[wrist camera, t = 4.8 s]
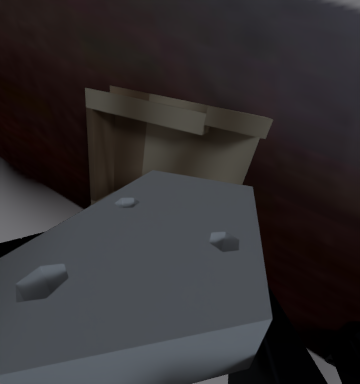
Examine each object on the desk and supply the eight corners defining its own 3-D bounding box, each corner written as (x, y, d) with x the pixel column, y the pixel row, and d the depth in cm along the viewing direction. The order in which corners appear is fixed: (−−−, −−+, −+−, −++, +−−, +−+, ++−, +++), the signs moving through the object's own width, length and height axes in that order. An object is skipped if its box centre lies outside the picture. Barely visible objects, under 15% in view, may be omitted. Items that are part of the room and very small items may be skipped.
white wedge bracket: (60, 169, 9) (-317, 440, 2) (227, 170, 11) (406, 291, 4) (73, 224, 11) (-94, 501, 3) (219, 216, 13) (333, 370, 5)
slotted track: (265, 117, 12) (273, 117, 9) (220, 237, 17) (215, 264, 14) (118, 87, 14) (84, 79, 11) (115, 199, 19) (91, 215, 16)
